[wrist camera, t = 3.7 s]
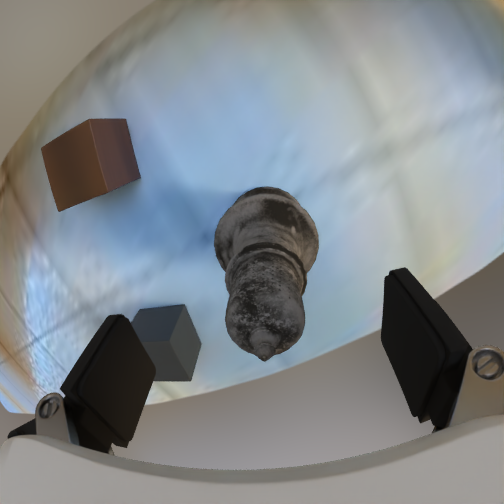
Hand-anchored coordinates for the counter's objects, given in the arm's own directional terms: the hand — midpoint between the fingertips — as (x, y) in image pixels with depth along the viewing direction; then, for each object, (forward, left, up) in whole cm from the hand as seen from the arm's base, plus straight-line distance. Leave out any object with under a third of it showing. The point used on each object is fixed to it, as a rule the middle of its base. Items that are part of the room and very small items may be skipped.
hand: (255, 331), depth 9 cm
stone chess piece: (0, 0, -11) cm, 11 cm away
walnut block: (+10, -8, -11) cm, 16 cm away
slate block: (+10, +7, -11) cm, 16 cm away
